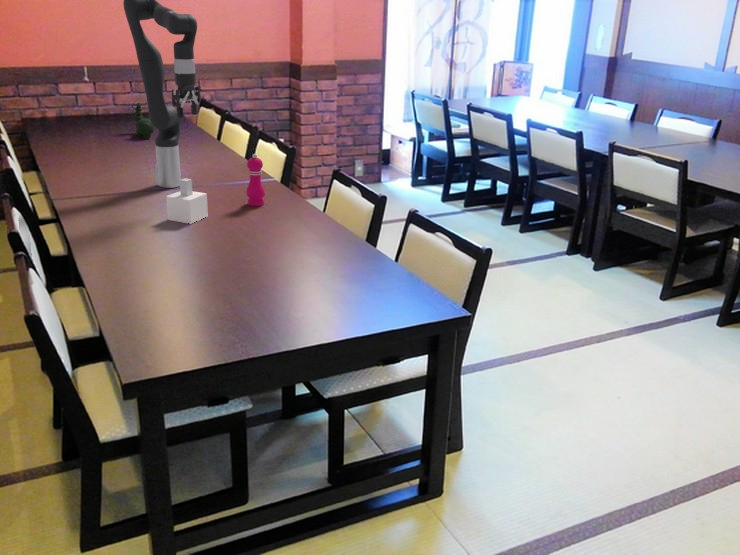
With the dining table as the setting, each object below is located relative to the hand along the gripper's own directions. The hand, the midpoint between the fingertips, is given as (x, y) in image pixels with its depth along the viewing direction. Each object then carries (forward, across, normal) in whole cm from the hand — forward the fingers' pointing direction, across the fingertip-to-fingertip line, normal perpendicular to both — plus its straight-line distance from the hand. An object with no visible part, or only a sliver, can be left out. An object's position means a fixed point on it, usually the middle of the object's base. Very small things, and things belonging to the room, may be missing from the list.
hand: (187, 116), depth 258 cm
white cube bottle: (+33, +20, +12) cm, 40 cm away
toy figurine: (+34, -92, -100) cm, 140 cm away
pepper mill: (+33, -8, +24) cm, 42 cm away
